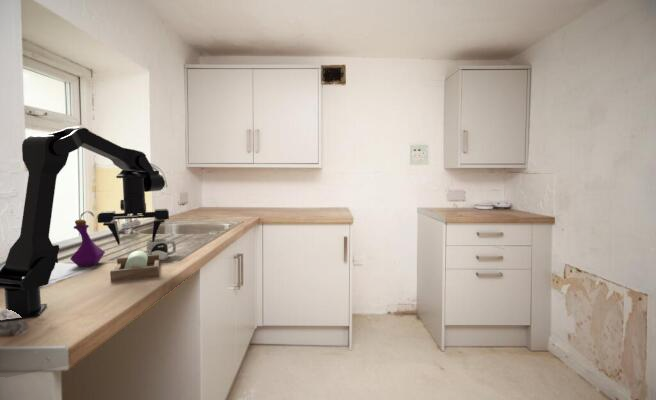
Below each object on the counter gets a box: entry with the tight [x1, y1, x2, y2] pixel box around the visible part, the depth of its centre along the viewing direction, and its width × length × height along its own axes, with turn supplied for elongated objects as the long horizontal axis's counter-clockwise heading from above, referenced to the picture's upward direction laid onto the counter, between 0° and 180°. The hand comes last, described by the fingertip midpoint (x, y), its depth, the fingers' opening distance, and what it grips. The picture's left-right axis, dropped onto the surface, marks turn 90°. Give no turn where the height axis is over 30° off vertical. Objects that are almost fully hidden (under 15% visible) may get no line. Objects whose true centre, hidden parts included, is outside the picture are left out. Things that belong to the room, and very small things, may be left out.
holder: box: [109, 254, 160, 283], centre depth 105 cm, size 16×12×3 cm
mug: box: [146, 238, 177, 262], centre depth 121 cm, size 10×7×7 cm
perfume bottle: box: [69, 210, 106, 267], centre depth 111 cm, size 8×8×18 cm
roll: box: [124, 250, 148, 269], centre depth 105 cm, size 10×6×6 cm, turn 26°
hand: (136, 243), depth 105 cm, fingers open, 9 cm apart
